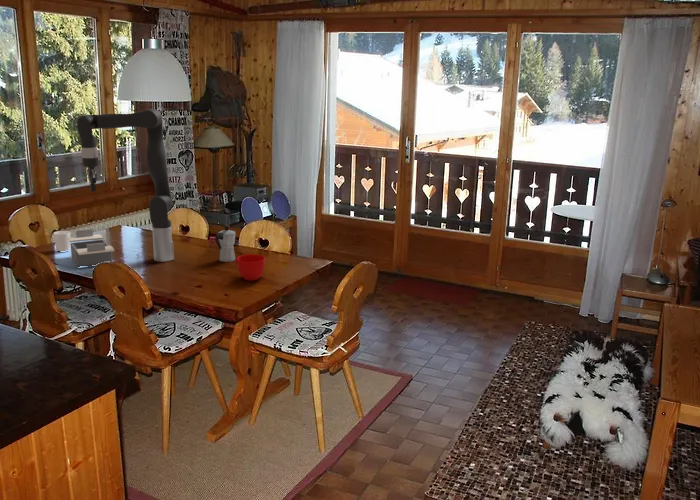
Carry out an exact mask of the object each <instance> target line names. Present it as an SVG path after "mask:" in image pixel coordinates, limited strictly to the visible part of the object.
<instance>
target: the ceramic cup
mask: <svg viewBox="0 0 700 500" xmlns="http://www.w3.org/2000/svg"><path fill="white" fill-rule="evenodd" d="M235 259H236V260H235V264H236V265H237V269H238V272H239V274H240V276H241V277H242V278H243V279H244V280H246V281H257V280H258V279H259V278H260V277H261V276H262V275H263V273H264V270H265V265H266V257H265V256H263V255H260V254H254V253H253V254H243V255H239V256H235Z"/></svg>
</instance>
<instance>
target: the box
mask: <svg viewBox="0 0 700 500" xmlns="http://www.w3.org/2000/svg"><path fill="white" fill-rule="evenodd" d="M103 242H104V243H105V246H110V244H108V242H107V241H106V240H105V239H98V240H88V241H79V242H70V253H71V261H72V260H73V261H74V263H75V264H76V266H77V267H80V266H92V265H96V264H98V263H101V262H104V261H110V262H112V260H113V259H112V251H110V252H101V253H92V254H83V255H79V254H78V253H77V251H76V249H84V248H87V244H94V243H103ZM73 261H72V262H73ZM74 263H73V264H74ZM75 264H74V265H75ZM76 266H75V267H76ZM77 267H76V268H77Z"/></svg>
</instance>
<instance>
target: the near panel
mask: <svg viewBox="0 0 700 500" xmlns="http://www.w3.org/2000/svg"><path fill="white" fill-rule="evenodd" d="M76 251H77V253H78V254H79V255H83V254H92V253H101V252H110V251H111V252H115V248H114V247H113V246H112V245H109V246H105V243H104V242H103V243H94V244H87V248H84V249H76Z"/></svg>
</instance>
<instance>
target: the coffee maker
mask: <svg viewBox="0 0 700 500" xmlns="http://www.w3.org/2000/svg"><path fill="white" fill-rule="evenodd" d="M229 228H230V226H229V225H224V229H223V230H221V231H219V232H217V235H215V237H214V241H215V244H216V245H217V247H218V249H219V250H220V253H219V262H224V263H232V262H236V254H235V253H236V252H235V249H234V245H235V241H236V231H235V230H230V229H229Z"/></svg>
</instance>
